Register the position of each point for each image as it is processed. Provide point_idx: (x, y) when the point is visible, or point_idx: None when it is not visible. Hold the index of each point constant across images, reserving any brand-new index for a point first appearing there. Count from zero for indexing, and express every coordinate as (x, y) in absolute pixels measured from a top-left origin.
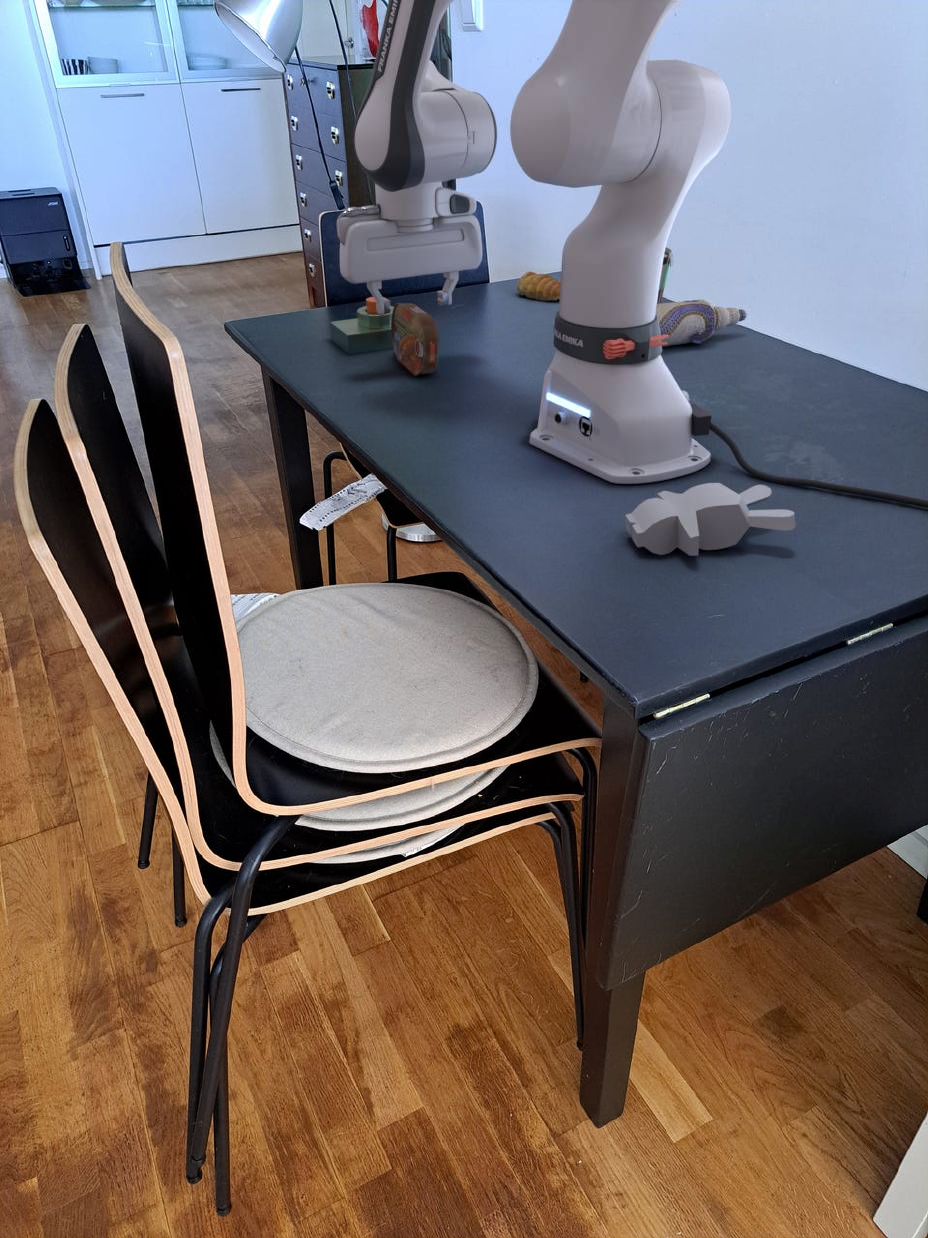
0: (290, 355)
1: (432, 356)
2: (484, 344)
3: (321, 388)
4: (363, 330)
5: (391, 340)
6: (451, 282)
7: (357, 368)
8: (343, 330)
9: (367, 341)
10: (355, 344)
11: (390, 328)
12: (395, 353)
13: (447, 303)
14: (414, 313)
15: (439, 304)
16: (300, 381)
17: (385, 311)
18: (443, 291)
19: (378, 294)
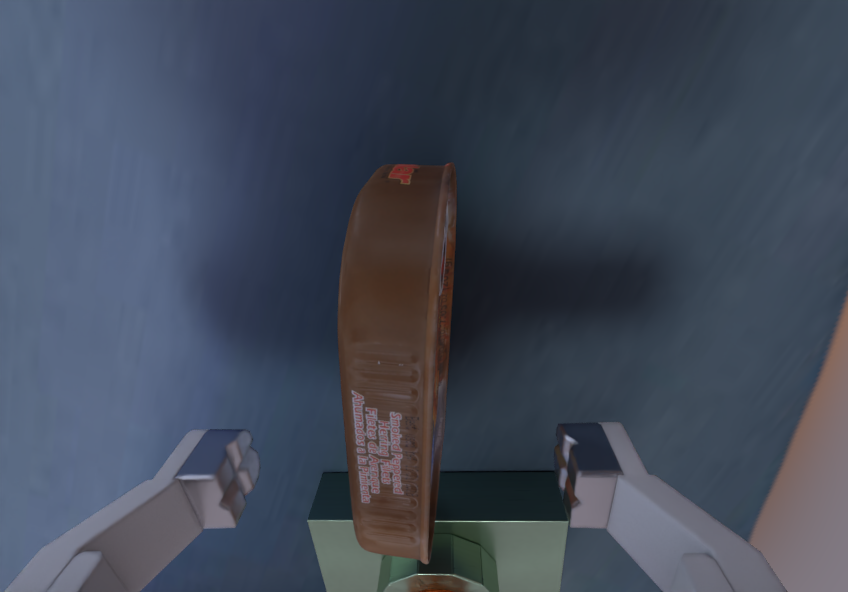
0: None
1: (408, 164)
2: (163, 410)
3: (789, 249)
4: (505, 536)
5: None
6: (111, 537)
7: (586, 371)
8: (559, 554)
9: (500, 496)
10: (538, 493)
11: None
12: (444, 415)
13: (214, 430)
14: (419, 399)
15: (257, 452)
16: (802, 335)
17: (594, 425)
18: (200, 509)
19: (685, 515)
